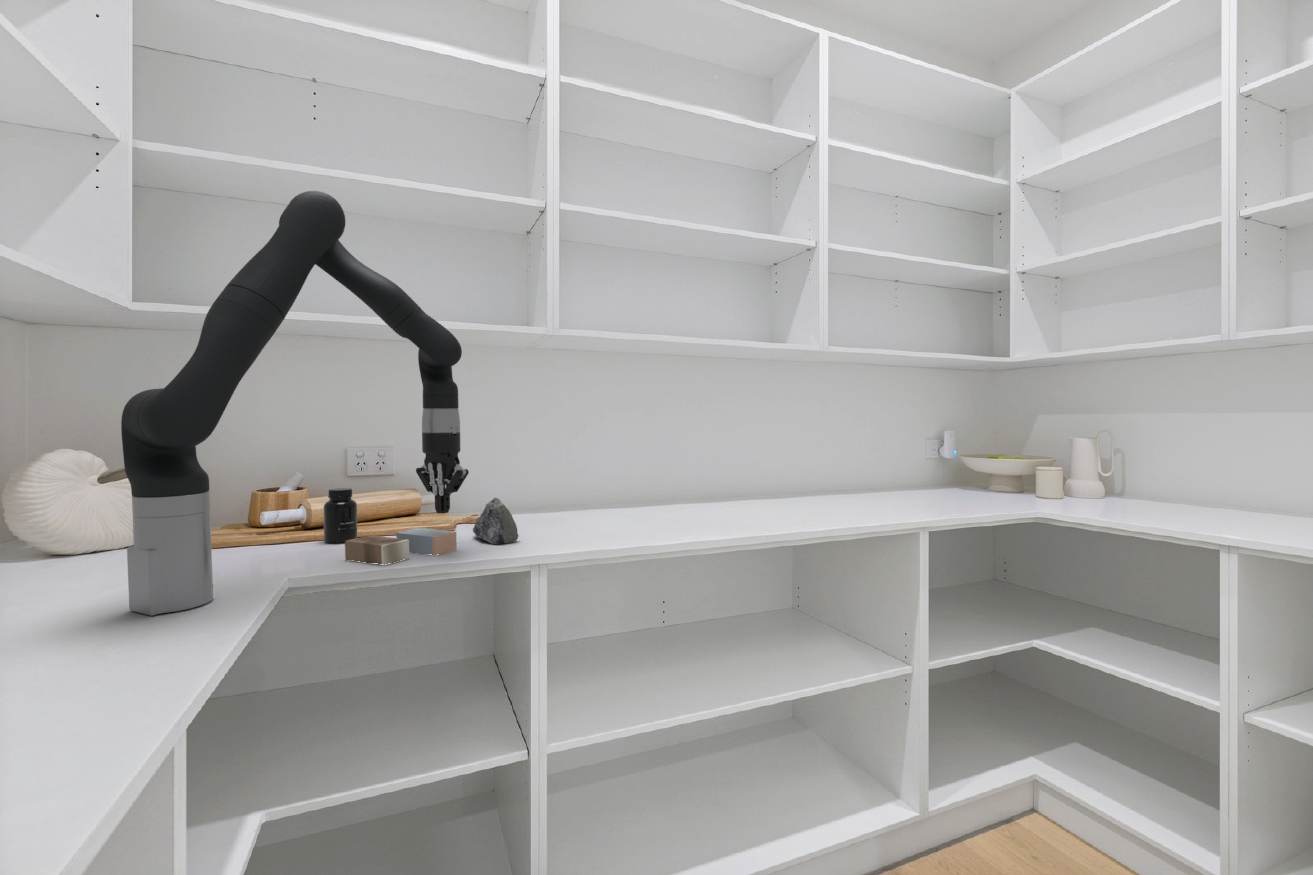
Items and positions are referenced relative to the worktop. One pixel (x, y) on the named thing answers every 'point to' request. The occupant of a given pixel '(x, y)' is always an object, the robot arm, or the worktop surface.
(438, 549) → the slate block
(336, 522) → the supplement bottle
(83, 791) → the worktop surface
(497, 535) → the mineral rock
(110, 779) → the worktop surface
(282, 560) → the worktop surface
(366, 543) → the walnut block
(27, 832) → the worktop surface
